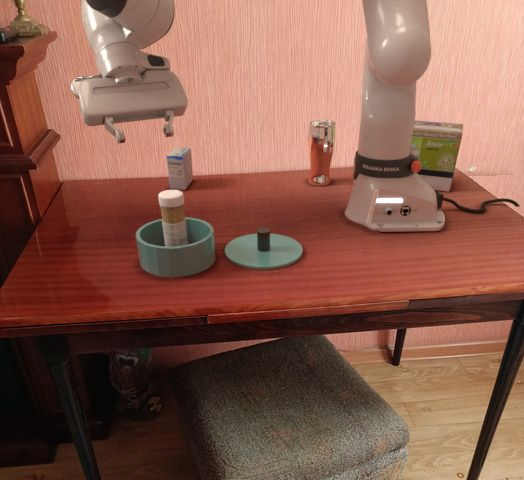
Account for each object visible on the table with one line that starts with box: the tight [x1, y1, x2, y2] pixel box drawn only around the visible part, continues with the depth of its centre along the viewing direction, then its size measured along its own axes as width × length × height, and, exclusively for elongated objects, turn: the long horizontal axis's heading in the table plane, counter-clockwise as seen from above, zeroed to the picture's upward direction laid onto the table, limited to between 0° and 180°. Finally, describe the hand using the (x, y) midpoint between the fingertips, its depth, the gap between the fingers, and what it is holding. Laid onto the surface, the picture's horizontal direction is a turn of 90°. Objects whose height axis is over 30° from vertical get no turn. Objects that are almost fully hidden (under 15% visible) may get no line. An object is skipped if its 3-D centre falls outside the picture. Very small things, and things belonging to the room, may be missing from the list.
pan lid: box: [224, 227, 304, 271], centre depth 104 cm, size 16×16×5 cm
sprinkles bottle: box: [157, 189, 188, 247], centre depth 99 cm, size 5×5×14 cm
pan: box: [135, 216, 217, 278], centre depth 101 cm, size 15×15×6 cm
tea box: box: [410, 119, 464, 193], centre depth 135 cm, size 15×10×15 cm
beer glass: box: [307, 119, 337, 187], centre depth 136 cm, size 7×7×15 cm
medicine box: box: [166, 147, 194, 191], centre depth 137 cm, size 8×4×9 cm, turn 172°
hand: (146, 138), depth 99 cm, fingers open, 8 cm apart
